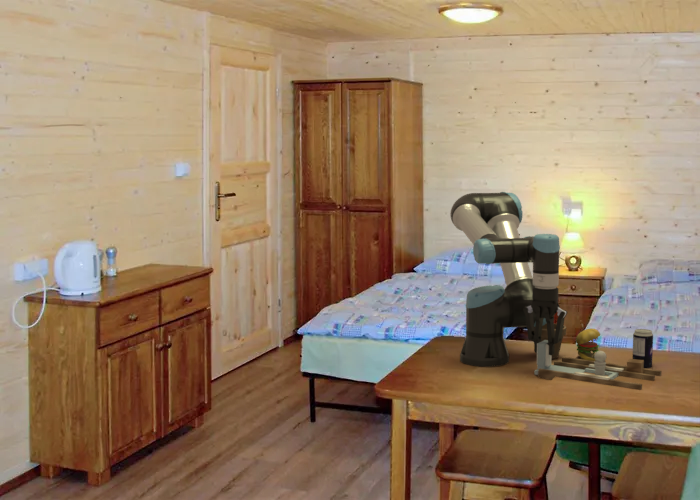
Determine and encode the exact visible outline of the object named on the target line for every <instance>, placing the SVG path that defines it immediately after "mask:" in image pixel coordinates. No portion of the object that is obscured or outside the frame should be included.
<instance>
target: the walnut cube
mask: <svg viewBox="0 0 700 500" xmlns="http://www.w3.org/2000/svg"><path fill="white" fill-rule="evenodd" d="M626 366H627V371H629V372H636V373H643V370H644V360H637V359H632V358H629V359H628V360H627V361H626Z"/></svg>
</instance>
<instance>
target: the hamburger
mask: <svg viewBox="0 0 700 500" xmlns="http://www.w3.org/2000/svg"><path fill="white" fill-rule="evenodd" d="M581 327H582V329H583V330H582V331H580V332H579V333H578V334H577V335H576V339H575V341H576V347H577V348H576V351H577V355H578V356H579V359H583V360H590V361H596V360H595V357H594V355H595V353H596V352H597V351H600V349H599V347H600V345H599V344H598V340H599V337H601V333H600V331H599V330H598V329H596V328H586V329H584V324H581ZM594 340H595V341H596V342H594Z"/></svg>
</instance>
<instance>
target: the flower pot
mask: <svg viewBox="0 0 700 500" xmlns="http://www.w3.org/2000/svg"><path fill="white" fill-rule="evenodd" d="M556 325H557V323H554V331H556ZM534 330H535V327H534ZM566 334H567V326H566V325H563V331H562V338H561V342H559V343H556V344H555V349H554V355H552V359H551V360H554V359H557V358H559V354H560V352H561V351H560V350H561V347H562V343H563V339H564V336H566ZM541 339H542V340H541V341H540V342H542V341H544V340H548V334H547V323H546V324H545V325H543V326H542V334H541ZM535 354H536V355H537V353H535Z"/></svg>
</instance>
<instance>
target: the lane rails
mask: <svg viewBox="0 0 700 500" xmlns="http://www.w3.org/2000/svg"><path fill="white" fill-rule="evenodd" d="M594 364H595V363H594V361H590V360H583V359H582V358H574V357H568V356H562V357H561V360H560V361H559V360H553V365H556V366H563V367H570V368H576V369H583V370H585V369H586V368H590V369H595V366H594ZM605 365H606V367H605V371H610V372H617V373H619V374H618V377H624V378H632V379H639V380H646V381H652V382H654V381H655V379H656V377H661V376H662V370H659V369H652V368H644V370H643V373H636V372H629V371H627V365H624V364H617V363H610V362H606V364H605ZM537 377H538V378H539V379H545V380H550V381H552V380H554V379H555V378H562V379H568V380H569V379H570V380H575V381H576V380H577V381H582V382H588V383H594V384H600V385H608V386H613V387H614V386H615V387H619V388H626V389H633V390H639V391H640V390H643V383H637V382H631V381H625V380H618V379H617V380H616V379H613V380H612V379H610V377H607V375H605V376H600V375H595V374H594V373H588V372H584V373H580V372H575V373H574V374H573V373H567V372H560V371H554V370H547V369H541V368H540V369H538V375H537Z"/></svg>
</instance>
